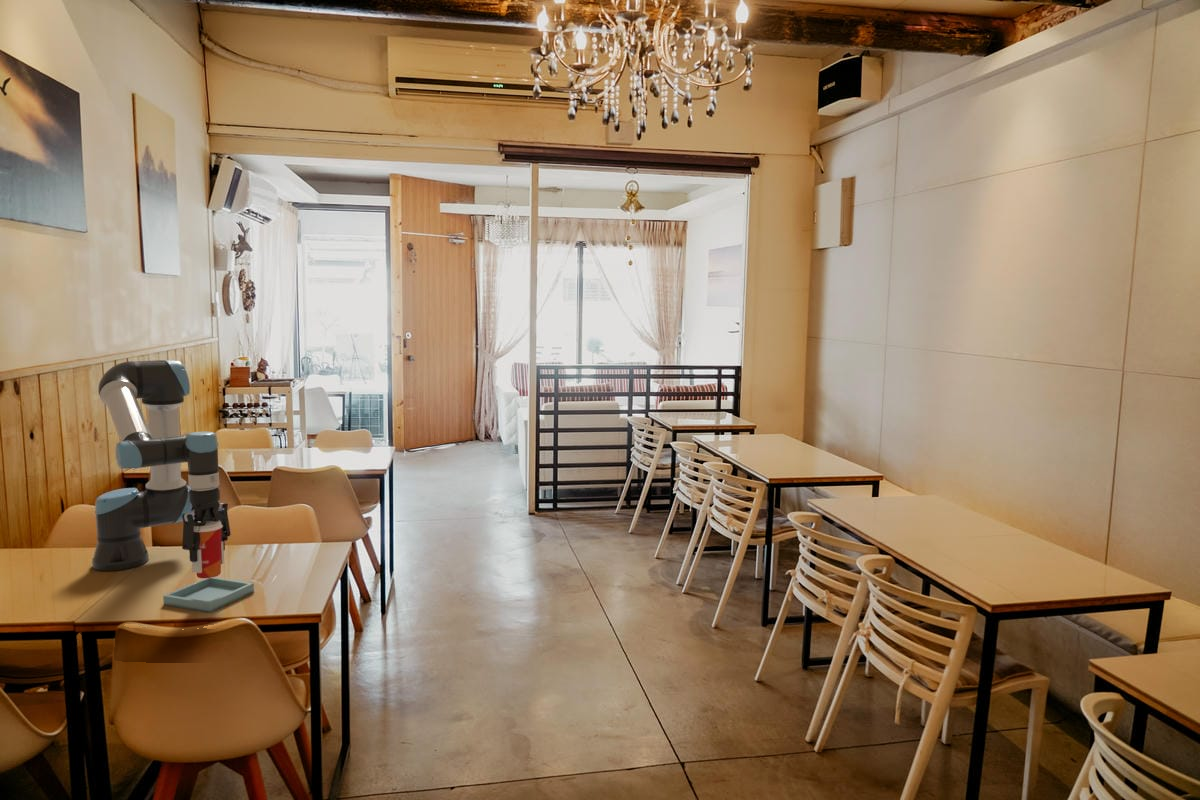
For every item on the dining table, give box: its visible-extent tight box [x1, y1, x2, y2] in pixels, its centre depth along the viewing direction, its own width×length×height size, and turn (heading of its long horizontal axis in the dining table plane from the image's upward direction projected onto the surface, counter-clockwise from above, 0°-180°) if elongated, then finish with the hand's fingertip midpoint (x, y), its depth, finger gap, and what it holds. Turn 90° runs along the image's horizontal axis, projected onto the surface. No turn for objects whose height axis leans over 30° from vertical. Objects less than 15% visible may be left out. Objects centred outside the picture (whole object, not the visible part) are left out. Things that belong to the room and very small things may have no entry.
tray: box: [163, 576, 255, 614], centre depth 211 cm, size 16×16×3 cm
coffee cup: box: [193, 520, 223, 579], centre depth 209 cm, size 8×8×15 cm
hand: (208, 567), depth 210 cm, fingers closed on coffee cup, 7 cm apart
